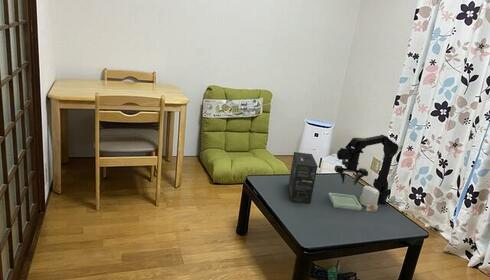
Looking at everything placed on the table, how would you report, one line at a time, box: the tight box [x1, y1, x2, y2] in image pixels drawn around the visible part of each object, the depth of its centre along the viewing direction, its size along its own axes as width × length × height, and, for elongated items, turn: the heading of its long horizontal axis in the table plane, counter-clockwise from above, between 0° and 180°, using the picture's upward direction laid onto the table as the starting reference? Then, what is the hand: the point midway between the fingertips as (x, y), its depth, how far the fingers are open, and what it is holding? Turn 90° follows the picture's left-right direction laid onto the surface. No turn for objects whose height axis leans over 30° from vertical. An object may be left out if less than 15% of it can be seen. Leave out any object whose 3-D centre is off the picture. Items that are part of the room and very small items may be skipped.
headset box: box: [288, 151, 319, 204], centre depth 228 cm, size 22×12×26 cm, turn 179°
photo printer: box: [359, 185, 379, 207], centre depth 227 cm, size 10×4×12 cm, turn 36°
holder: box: [358, 194, 379, 213], centre depth 228 cm, size 6×14×4 cm, turn 0°
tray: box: [328, 192, 363, 211], centre depth 227 cm, size 16×16×2 cm
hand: (348, 184), depth 224 cm, fingers open, 7 cm apart
